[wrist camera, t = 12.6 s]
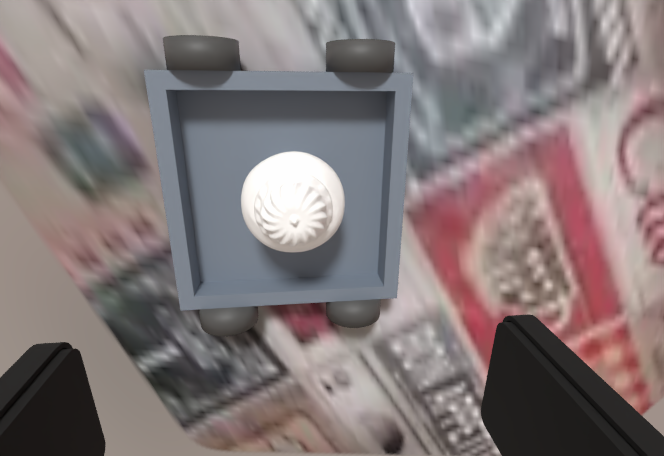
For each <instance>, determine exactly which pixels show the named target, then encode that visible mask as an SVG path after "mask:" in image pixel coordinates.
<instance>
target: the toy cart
mask: <svg viewBox="0 0 664 456" xmlns="http://www.w3.org/2000/svg"><path fill="white" fill-rule="evenodd" d="M163 43H164V51H165V58H166V66H167V70H144V74H145V80H146V87H147V93H148V100H149V107H150V113H151V120H152V126H153V133H154V139H155V146H156V152H157V159H158V166H159V172H160V179H161V185H162V192H163V198H164V205H165V211H166V218H167V224H168V231H169V238H170V244H171V251H172V257H173V264H174V270H175V277H176V283H177V290H178V297H179V303H180V310H196V309H199V313H200V321H201V327H202V329H203V330H204V331H205V332H206V333H208V334H210V335H214V336H232V335H237V334H240V333H243V332H245V331H247V330H249V329H250V328H252V327H253V326H254V325H255V324H256V322H257V320H258V306H266V305H284V304H301V303H319V302H326V314H327V317H328V318H329V319H330V320H331V321H332V322H333V323H335V324H337V325H340V326H343V327H349V328H360V327H365V326H369V325H371V324H373V323H374V322H376V321H377V320H378V318H379V315H380V299H389V298H397V289H398V275H399V262H400V248H401V234H402V221H403V207H404V193H405V180H406V166H407V153H408V139H409V125H410V112H411V98H412V84H413V73H393V69H394V52H395V43H394V42H392V41H387V40H375V39H347V40H336V41H330V42H327V43H326V72H289V71H241V69H240V55H239V42H238V41H237V40H234V39H230V38H223V37H214V36H196V35H179V36H167V37H164V38H163ZM290 151H297V152H304V153H308V154H311V155H314V156H316V157H318V158H320V159H321V160H323V161H324V162H326V163H327V164H328V165H329V166H330V167H331V168H332V169H333V170H334V171H335V173H336V174H337V176H338V177H339V179H340V182H341V184H342V187H343V191H344V197H345V207H344V215H343V218H342V221H341V224H340V226H339V228H338V229H337V231H336V232H335V233H334V235H333V236H332V237H331V238H330V239H329V240H327V241H326V242H325V243H323V244H322V245H320V246H318V247H316V248H314V249H311V250H308V251H303V252H283V251H278V250H275V249H272V248H270V247H268V246H266V245H264V244H263V243H261V242H260V241H259V240H258V239H257V238H256V237H255V236H254V235H253V234H252V233H251V231H250V230H249V228H248V227H247V225H246V223H245V220H244V218H243V214H242V209H241V194H242V188H243V184H244V182H245V179H246V177H247V176H248V174H249V173H250V171H251V170H252V169H253V168H254V167H255V166H256V165H258V164H259V163H260V162H262V161H263V160H265V159H267V158H269V157H271V156H273V155H276V154H279V153H283V152H290Z"/></svg>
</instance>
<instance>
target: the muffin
mask: <svg viewBox="0 0 664 456" xmlns="http://www.w3.org/2000/svg"><path fill="white" fill-rule="evenodd" d="M344 207H345V197H344V191H343V187H342V184H341V182H340V179H339V177H338V176H337V174H336V173H335V171H334V170H333V169H332V168H331V167H330V166H329V165H328V164H327V163H326V162H324V161H323V160H321V159H320V158H318V157H316V156H314V155H311V154H308V153H304V152H297V151H290V152H283V153H279V154H276V155H273V156H271V157H269V158H267V159H265V160H263V161H262V162H260V163H259V164H258V165H256V166H255V167H254V168H253V169H252V170H251V171H250V173H249V174H248V176H247V177H246V179H245V182H244V184H243V188H242V194H241V209H242V214H243V218H244V220H245V223H246V225H247V227H248V228H249V230H250V231H251V233H252V234H253V235H254V236H255V237H256V238H257V239H258V240H259V241H260V242H261V243H263V244H264V245H266V246H268V247H270V248H272V249H275V250H278V251H283V252H303V251H308V250H311V249H314V248H316V247H318V246H320V245H322V244H323V243H325V242H326V241H327V240H329V239H330V238H331V237H332V236H333V235H334V233H335V232H336V231H337V229H338V228H339V226H340V224H341V221H342V218H343V215H344Z"/></svg>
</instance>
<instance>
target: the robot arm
mask: <svg viewBox="0 0 664 456" xmlns="http://www.w3.org/2000/svg"><path fill="white" fill-rule="evenodd" d="M481 416H482V420H483V423H484V425H485V427H486V429H487V431H488V432H489V434H490V436H491V437H492V439H493V441H494V443H495V444H496V446H497V448H498V450H499V451H500V453H501V455H502V456H664V436H663V435H662V434H661V433H660V432H659V431H657V430H656V429H655V428H654V427H653V426H652V425H651V424H650V423H649V422H648V421H647V420H646V419H645V418H643V417H642V416H641V415H640V414H639V413H638V412H637V411H636V410H635V409H634V408H633V407H632V406H631V405H630V404H628V403H627V402H626V401H625V400H624V399H623V398H622V397H621V396H620V395H619V394H618V393H617V392H616V391H615V390H613V389H612V388H611V387H610V386H609V385H608V384H607V383H606V382H605V381H604V380H603V379H602V378H601V377H599V376H598V375H597V374H596V373H595V372H594V371H593V370H592V369H591V368H590V367H589V366H588V365H587V364H586V363H584V362H583V361H582V360H581V359H580V358H579V357H578V356H577V355H576V354H575V353H574V352H573V351H572V350H571V349H569V348H568V347H567V346H566V345H565V344H564V343H563V342H562V341H561V340H560V339H559V338H558V337H557V336H555V335H554V334H553V333H552V332H551V331H550V330H549V329H548V328H547V327H546V326H545V325H544V324H543V323H542V322H540V321H539V320H538V319H537V318H536V317H535V316H533V315H514V316H507V317H505V318H504V320H503V322H502V323H499V324H498V325H497V328H496V333H495V339H494V344H493V349H492V354H491V359H490V365H489V370H488V375H487V380H486V386H485V391H484V396H483V401H482V407H481ZM104 453H105V439H104V435H103V432H102V428H101V425H100V421H99V418H98V414H97V410H96V407H95V403H94V400H93V396H92V392H91V389H90V386H89V382H88V378H87V374H86V371H85V367H84V364H83V360H82V357H81V354H80V351H79V350H78V349H73V348H72V346H71V345H70V344H69V343H66V342H61V343H44V344H36V345H33V346H32V347H30V348H29V349H28V350H27V351H26V352H25V353H24V354H23V355H22V356H21V357H20V358H19V359H18V360H17V362H15V364H13V366H11V367H10V368H9V370H8V371H7V372H5V374H4V375H3V376H2V377H1V378H0V456H104Z"/></svg>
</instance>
